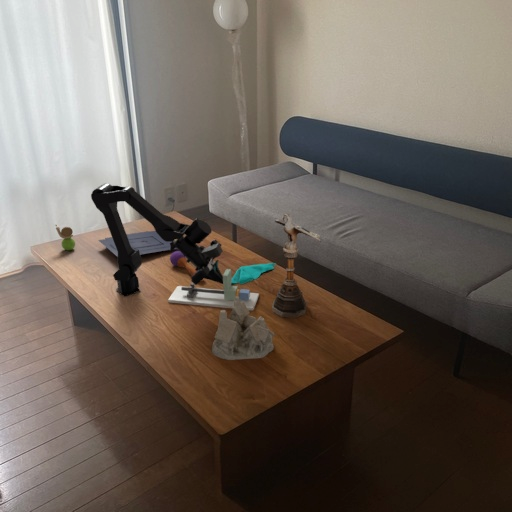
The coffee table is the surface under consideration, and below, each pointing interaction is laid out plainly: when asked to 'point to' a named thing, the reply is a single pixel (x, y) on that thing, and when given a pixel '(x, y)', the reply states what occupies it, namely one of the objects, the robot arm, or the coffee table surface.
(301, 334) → the coffee table surface
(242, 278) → the cloth
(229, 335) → the ceramic cottage
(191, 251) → the robot arm
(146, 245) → the papers
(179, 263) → the kendama
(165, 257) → the coffee table surface
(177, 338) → the coffee table surface
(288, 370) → the coffee table surface
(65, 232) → the snail figurine
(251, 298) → the white board with rod
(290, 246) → the bird statue
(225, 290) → the sage green stepped block
